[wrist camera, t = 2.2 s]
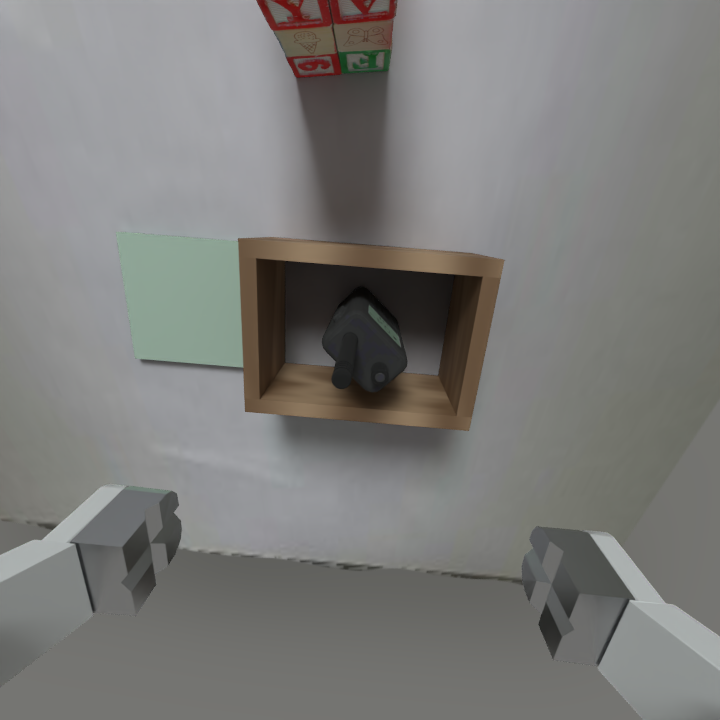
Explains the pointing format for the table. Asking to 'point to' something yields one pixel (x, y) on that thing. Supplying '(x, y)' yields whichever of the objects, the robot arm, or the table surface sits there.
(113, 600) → the robot arm
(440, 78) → the table surface
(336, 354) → the walkie-talkie
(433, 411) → the access box
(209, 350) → the place mat
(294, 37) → the stack of blocks
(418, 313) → the table surface
